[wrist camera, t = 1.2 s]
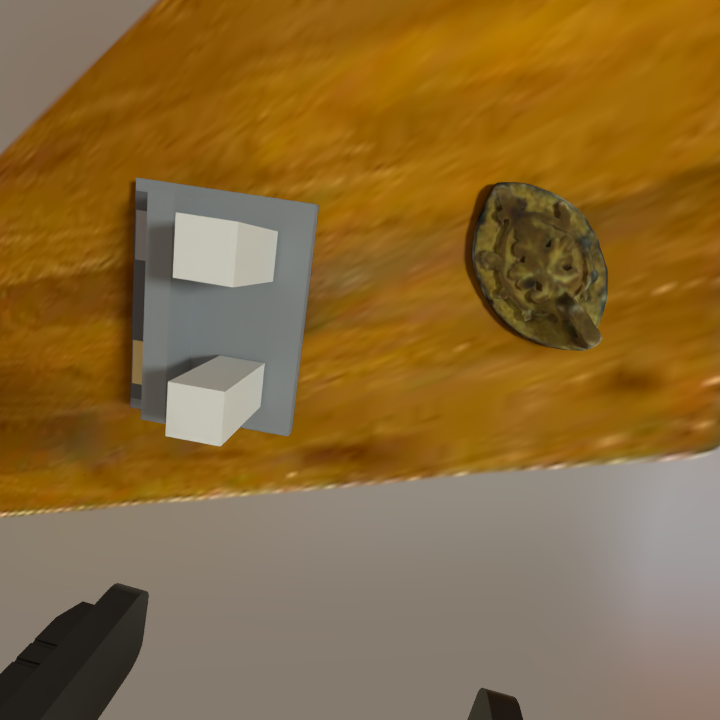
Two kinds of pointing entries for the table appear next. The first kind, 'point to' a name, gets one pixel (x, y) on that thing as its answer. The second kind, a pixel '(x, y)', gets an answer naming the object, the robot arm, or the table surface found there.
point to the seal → (540, 266)
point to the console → (218, 300)
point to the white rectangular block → (223, 251)
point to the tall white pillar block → (213, 399)
